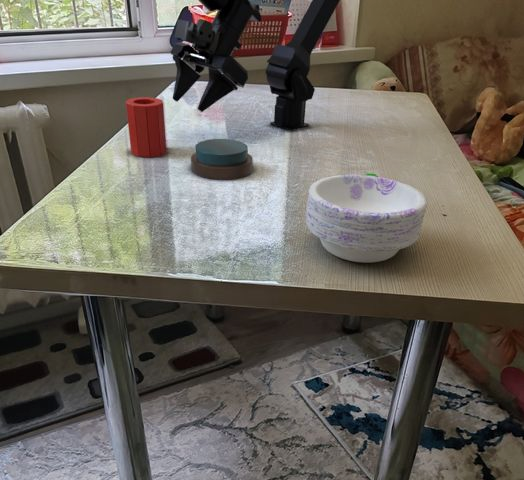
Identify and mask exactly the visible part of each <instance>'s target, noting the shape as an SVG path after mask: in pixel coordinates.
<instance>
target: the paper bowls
mask: <svg viewBox="0 0 524 480" xmlns="http://www.w3.org/2000/svg"><path fill="white" fill-rule="evenodd" d="M427 204H428V203H427V199H426V197H425V195H424V194H423V193H422V191H421V190H418V189H416V188H415V187H413V186H412V185H409V184H407V183H405V182H402V181H398V180H395V179H391V178H386V177H380V176H378V177H375V176H367V175H366V174H340V175H332V176H326V177H323V178H320V179H318V180H316V181H314V182H313V183H312V184H311V185H310V186H309V188H308V192H307V202H306V210H305V211H306V212H305V225H306V228H307V229H308V231H309V232H310V233H311V234H312V235H313V236H316V237H317V238H318V239H319V240H320V242H321V245H322V247H323V248H324V249H325V250H326V251H327V252H328V253H330V254H331V255H333V256H335V257H337V258H339V259H343V260H345V261H350V262H355V263H367V264H368V263H378V262H379V263H380V262H383V261H387V260H388V259H392V257H394V256H395V255H396V254H397V253H398V252H399V251H400V250H401V249H406V248H408V247H410V246H412V245H414V244H415V243H416V242H417V241H418V240H419V238H420V235H421V231H422V226H423V223H424V217H425V213H426V208H427V206H428V205H427Z"/></svg>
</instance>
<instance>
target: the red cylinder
mask: <svg viewBox="0 0 524 480" xmlns="http://www.w3.org/2000/svg"><path fill="white" fill-rule="evenodd" d="M164 108H165V107H164V101H163V100H162V99H161V98H156V97H148V96H143V97H142V96H141V97H132V98H129V99H126V100H125V110H126V117H127V126H128V135H129V137H128V138H129V144H130V153H131V155H133V156H135V157H139V158H155V157H162V156H163V155H165V154H166V153H167V137H166V124H165V110H164Z"/></svg>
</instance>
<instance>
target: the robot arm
mask: <svg viewBox="0 0 524 480" xmlns="http://www.w3.org/2000/svg"><path fill="white" fill-rule="evenodd" d="M198 1H199V2H200V4H201V5H202V6H203V7H204V8H205V9H206V10H207V11H209V12H215V11H217V12H216V14H215V16H214V18H213V19H212V21H208V20H206V19H201V18H199V19H198V21H197V22H196V23H195V22H192V21H188V20H183V19H177V21H176V28H175V34H174V39H175V40H178V41H179V42H176V43H174V44H173V46H172V48H171V50H170V52H169V53H170V54H171V55H172V60H173V61H174V63H175V67H176V77H175V81H174V87H173V94H172V100H174V101H175V102H179V101H180V100H181V99H182V98H183V97H184V96H185V95H186V93H188V92H189V90H190V89H191V88H192V87H193V85H195V84H196V82H197V81H198V80H200V78H201V76H202V75H200V74H201V73H202V72H203V71H204V70H205V69H208V82H207V83H206V85H205V89H204V91H203V94H202V96H201V97H200V100H199V103H198V106H197V110H198V111H199V112H201V113H203V112H205V111H206V110H207V109H210V107H211V106H213V105H214V104H216V103H217V102H218V101H220V100H222V98H224V97H226V96H228V95H229V94H231V93H232V92H234V91H238V89H239V88H242V89H243V88H244V87H245V85H246V84H247V82H248V80H249V74H248V69H246V68H245V67H244V66H243V65H242V64H241V63H240V62H239V61H238V60H236V59H235V57H233V56H232V54H233V53H234V50H237V51H240V49H241V48H242V43H241V42H240V39H241V38H242V35H243V33H244V32H245V30H246V28H247V26H248V25H249V22H250V21H252V22H257V23H260V22H262V14H261V11H260V5H259V4H258V3H257V4H256V3H252V2H251V1H250V0H198ZM340 1H341V0H311V2H310V3H309V6H308V7H307V9H306V11H305V13H304V15H303V17H302V19H301V20H300V23H299V25H298V27H297V28H296V30H295V32H294V33H293V35H292V37H291V39H290V40H289V42H288V43H286V44H285V45H283V44H280V43H277V44H276V45H275V46H274V48H273V51H272V54H271V56H270V57H269V58H268V59H267V61H266V63H267V66H266V69H265V74H266V75H265V77H266V80H267V83H268V85H269V90H270V93H271V94H272V95H276V96H275V104H274V114H273V115H274V116H273V121H270V122H269V125H270V126H273V127H276V128H279V129H281V130H285V131H287V132H291V131H296V130H300V129H304V128H309V127H310V124H309V123H307V122H305V118H306V105H307V102H308V101H309V100H312V99H313V97H314V93H315V91H316V89H315V87H314V85H313V84H312V82H311V81H310V80H309V78H308V75H309V74H310V70H311V55H312V52H313V51H314V49H315V47H316V45H317V43H319V40H320V38H321V36H322V34H323V33H324V31H325V29H326V27H327V25H328V24H329V21H330V20H331V18H332V16H333V15H334V12H335V11H336V9H337V7H338V5H339V3H340ZM181 41H183V42H181ZM185 42H186V43H185ZM189 43H190V44H191V45H190V44H189Z"/></svg>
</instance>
